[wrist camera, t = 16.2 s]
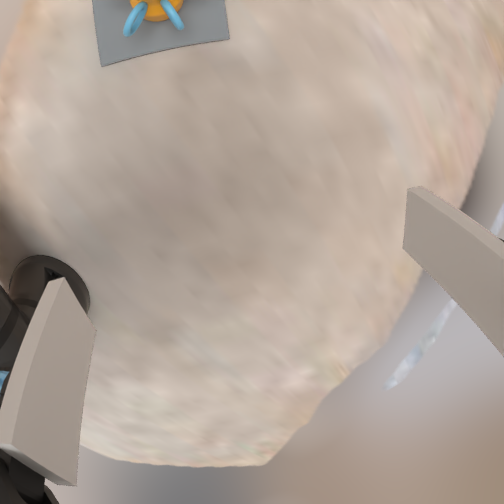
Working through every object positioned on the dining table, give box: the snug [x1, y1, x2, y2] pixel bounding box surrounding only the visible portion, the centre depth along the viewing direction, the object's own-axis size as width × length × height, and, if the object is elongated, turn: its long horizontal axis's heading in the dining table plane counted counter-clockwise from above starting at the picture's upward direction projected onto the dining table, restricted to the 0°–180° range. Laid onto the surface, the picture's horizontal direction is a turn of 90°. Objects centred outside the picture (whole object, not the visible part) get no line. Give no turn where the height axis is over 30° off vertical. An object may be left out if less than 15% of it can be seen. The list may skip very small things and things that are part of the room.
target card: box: [92, 0, 230, 67], centre depth 28 cm, size 16×14×1 cm
